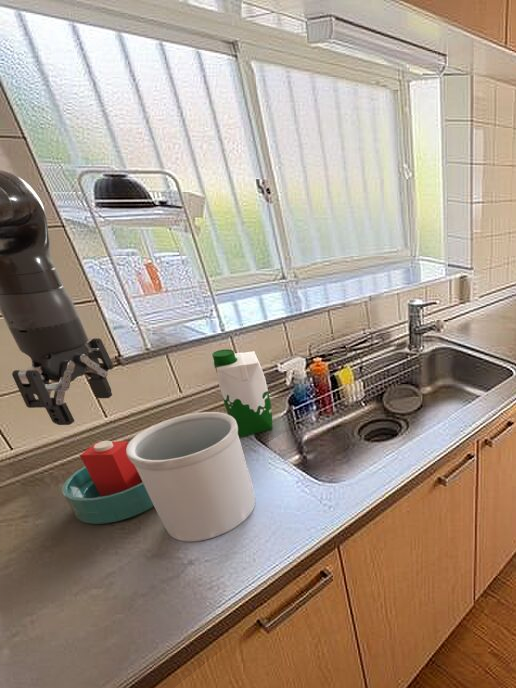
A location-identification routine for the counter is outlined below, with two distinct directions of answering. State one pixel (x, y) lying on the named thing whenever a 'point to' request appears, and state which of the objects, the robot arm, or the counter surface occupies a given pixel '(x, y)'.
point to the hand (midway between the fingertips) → (86, 409)
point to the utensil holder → (195, 474)
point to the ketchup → (110, 467)
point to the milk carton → (244, 390)
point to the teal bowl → (103, 500)
